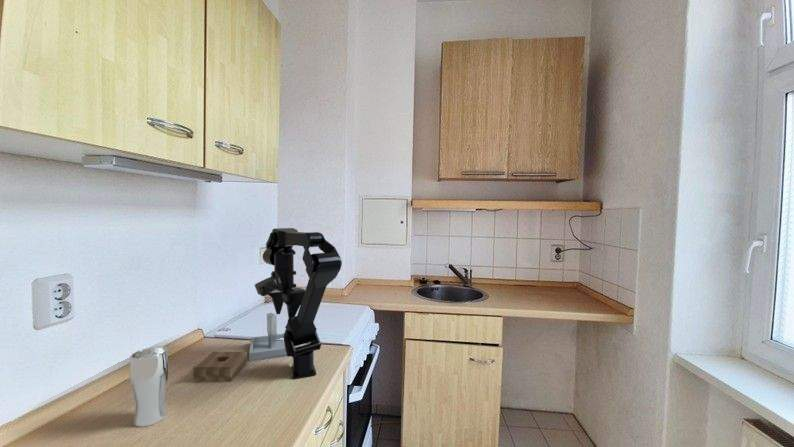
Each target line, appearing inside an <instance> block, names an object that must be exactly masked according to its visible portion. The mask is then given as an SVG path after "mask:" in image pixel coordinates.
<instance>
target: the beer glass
mask: <svg viewBox="0 0 794 447" xmlns="http://www.w3.org/2000/svg"><path fill="white" fill-rule="evenodd" d="M129 357H130V361H129V362H130V363H129V383H130V388H131V389H130V390H131V392H132V397H133V400H134V405H135V412H134V417H133V425H134V426H135V427H140V428H141V427H142V428H145V427H149V426H152V425H155V424H157V423H159V422H161V421H163V420H164V419H165V418H166V417H167V415H168V408H167V405H166V391H167V385H168V380H169V379H168V378H169V372H170V371H169V365H170V364H169V355H168V348H167V347H165V346H152V347H151V346H150V347H147V348H143V349H140V350H137V351H134V352H133V353H132V354H130V356H129Z"/></svg>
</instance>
